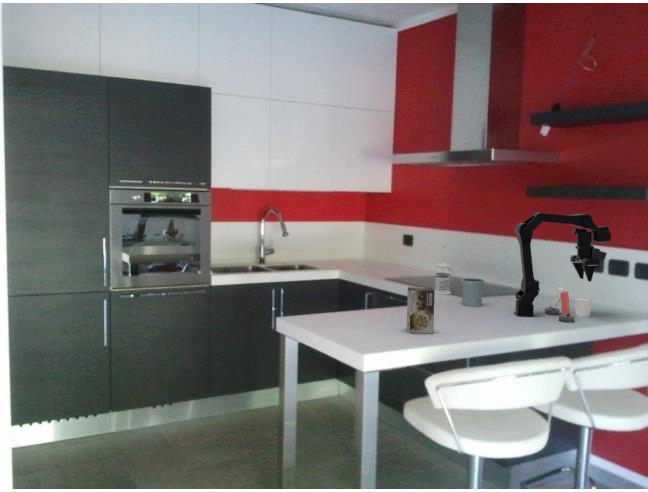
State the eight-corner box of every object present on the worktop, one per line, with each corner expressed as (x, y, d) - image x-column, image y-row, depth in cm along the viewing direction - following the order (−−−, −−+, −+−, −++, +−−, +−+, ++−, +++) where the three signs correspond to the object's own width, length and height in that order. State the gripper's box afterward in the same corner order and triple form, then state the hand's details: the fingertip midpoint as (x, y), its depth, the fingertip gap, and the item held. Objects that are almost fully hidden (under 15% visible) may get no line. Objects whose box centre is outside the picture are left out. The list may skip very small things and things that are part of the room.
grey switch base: (543, 313, 262) (543, 305, 261) (547, 311, 267) (547, 303, 266) (557, 315, 258) (557, 307, 258) (561, 313, 263) (561, 305, 263)
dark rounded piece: (556, 321, 247) (557, 312, 247) (560, 318, 252) (561, 310, 252) (571, 323, 244) (572, 314, 243) (575, 320, 249) (576, 312, 248)
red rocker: (561, 316, 247) (559, 292, 246) (564, 314, 250) (562, 291, 250) (567, 316, 245) (565, 292, 245) (570, 314, 249) (568, 291, 249)
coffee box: (429, 329, 226) (431, 287, 225) (433, 333, 220) (435, 290, 218) (405, 329, 226) (407, 286, 225) (408, 333, 220) (410, 289, 218)
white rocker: (549, 308, 261) (558, 288, 258) (552, 306, 264) (561, 287, 262) (553, 310, 260) (562, 290, 257) (556, 308, 263) (565, 289, 261)
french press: (428, 291, 315) (430, 243, 313) (446, 290, 320) (448, 243, 318) (439, 294, 306) (442, 245, 304) (458, 293, 311) (460, 245, 309)
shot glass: (570, 313, 264) (571, 298, 263) (582, 313, 266) (583, 297, 265) (582, 316, 257) (583, 300, 257) (594, 316, 260) (595, 300, 259)
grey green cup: (487, 306, 276) (488, 280, 275) (468, 307, 272) (469, 281, 271) (473, 302, 285) (475, 277, 284) (455, 303, 281) (456, 278, 280)
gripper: (612, 243, 244) (614, 281, 245) (595, 241, 263) (596, 276, 264) (584, 245, 245) (586, 283, 246) (569, 242, 264) (570, 278, 265)
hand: (585, 280), depth 255 cm, fingers open, 9 cm apart
